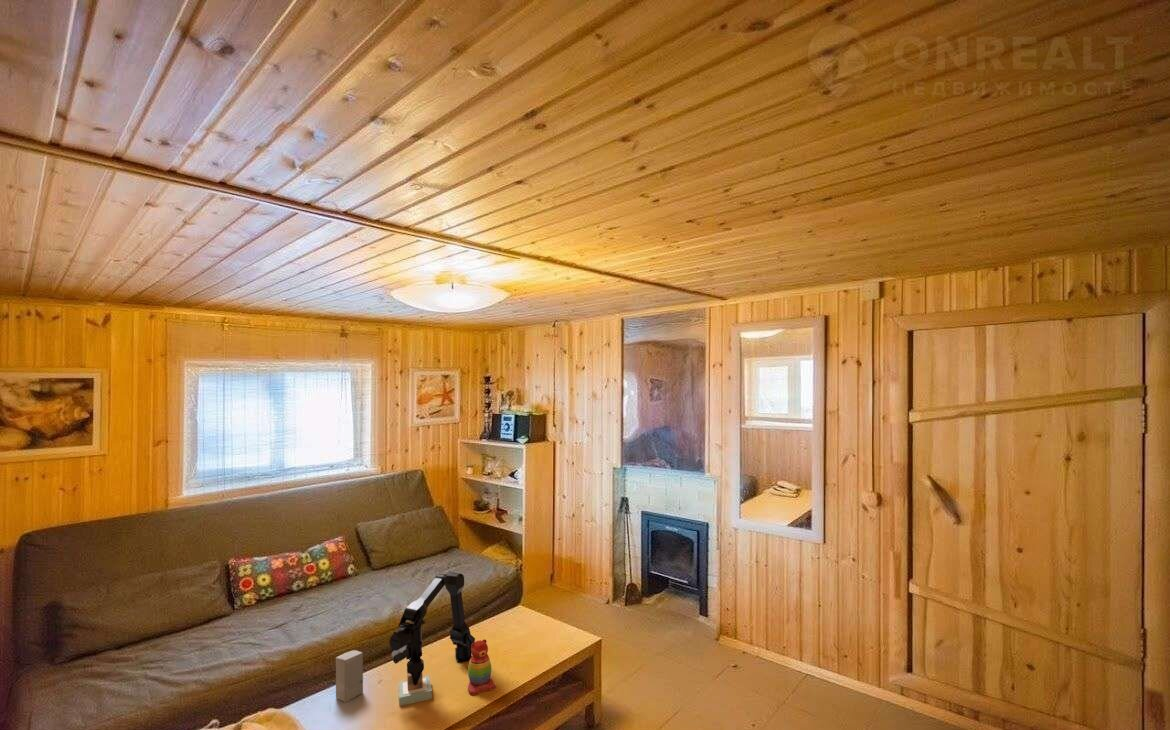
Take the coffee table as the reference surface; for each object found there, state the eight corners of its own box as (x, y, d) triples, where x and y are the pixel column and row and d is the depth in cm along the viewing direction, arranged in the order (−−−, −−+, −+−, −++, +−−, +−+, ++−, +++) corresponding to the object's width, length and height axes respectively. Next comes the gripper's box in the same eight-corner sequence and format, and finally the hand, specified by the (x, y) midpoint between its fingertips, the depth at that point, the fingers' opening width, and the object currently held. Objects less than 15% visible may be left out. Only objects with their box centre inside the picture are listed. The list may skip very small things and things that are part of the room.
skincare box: (345, 703, 204) (345, 661, 205) (334, 698, 208) (334, 657, 208) (364, 692, 211) (364, 652, 212) (353, 687, 215) (353, 647, 216)
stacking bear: (470, 696, 206) (469, 650, 207) (463, 684, 215) (463, 639, 216) (497, 688, 211) (496, 643, 212) (489, 677, 220) (488, 633, 221)
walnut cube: (421, 680, 213) (421, 666, 213) (422, 687, 207) (422, 673, 208) (407, 683, 211) (407, 669, 211) (407, 691, 206) (407, 676, 206)
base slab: (429, 683, 217) (429, 675, 217) (431, 698, 205) (431, 690, 205) (398, 689, 212) (398, 681, 212) (399, 705, 201) (399, 697, 201)
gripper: (392, 633, 216) (393, 672, 215) (393, 653, 198) (393, 696, 198) (420, 627, 220) (421, 666, 219) (423, 647, 202) (424, 689, 201)
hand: (414, 679), depth 209 cm, fingers open, 9 cm apart
